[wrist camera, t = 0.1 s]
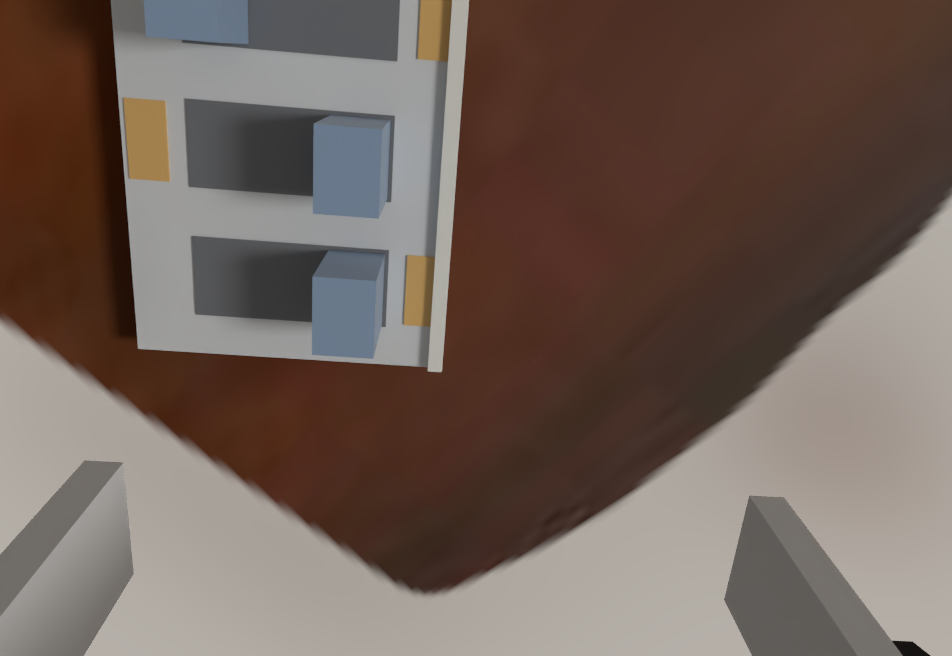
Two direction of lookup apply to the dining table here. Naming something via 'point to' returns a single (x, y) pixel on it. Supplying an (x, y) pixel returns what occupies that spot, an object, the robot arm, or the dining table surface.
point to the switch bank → (287, 172)
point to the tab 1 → (198, 20)
